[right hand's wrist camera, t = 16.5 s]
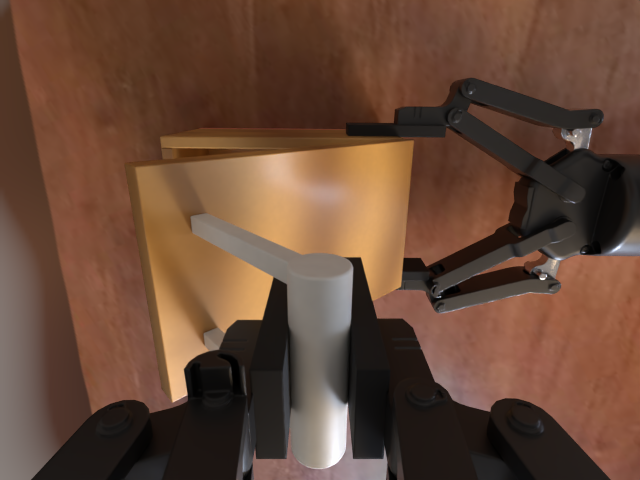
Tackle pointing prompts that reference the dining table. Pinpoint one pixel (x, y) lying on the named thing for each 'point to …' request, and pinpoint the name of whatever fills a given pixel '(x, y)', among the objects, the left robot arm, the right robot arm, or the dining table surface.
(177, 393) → the lid
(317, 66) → the dining table surface
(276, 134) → the chest
